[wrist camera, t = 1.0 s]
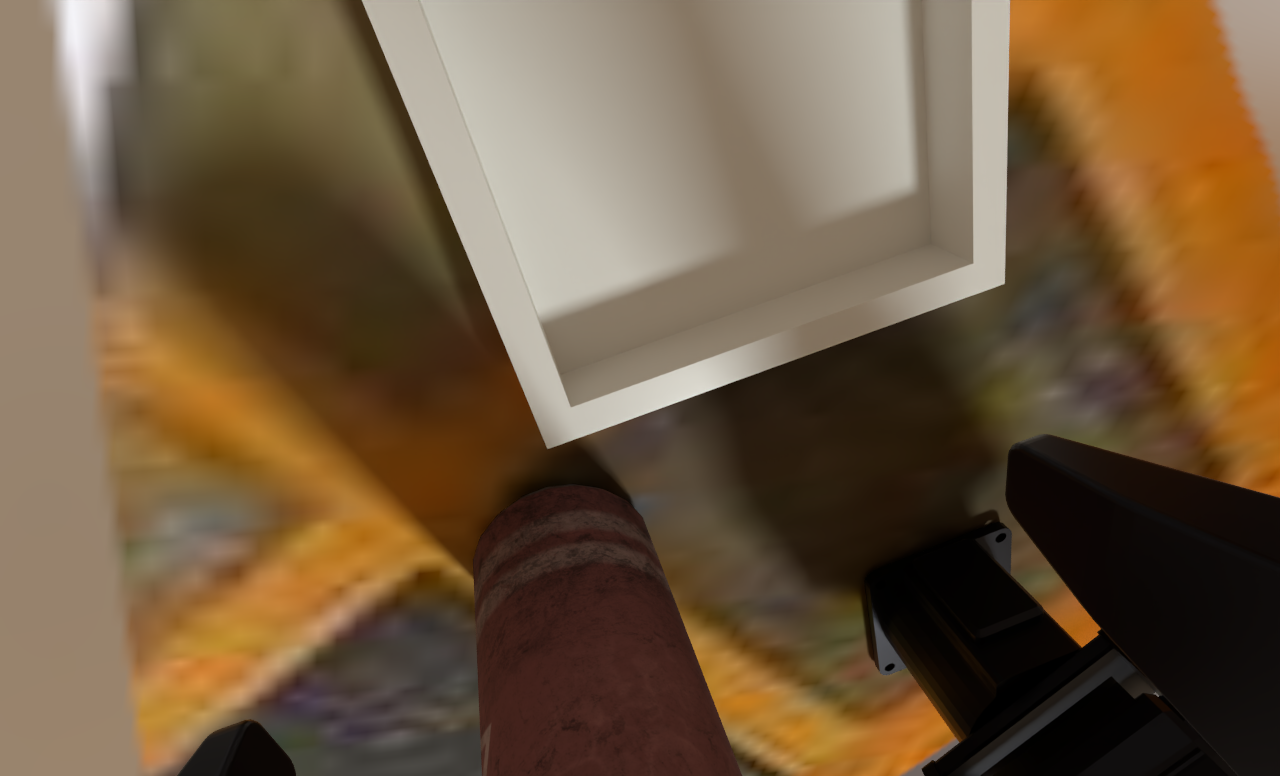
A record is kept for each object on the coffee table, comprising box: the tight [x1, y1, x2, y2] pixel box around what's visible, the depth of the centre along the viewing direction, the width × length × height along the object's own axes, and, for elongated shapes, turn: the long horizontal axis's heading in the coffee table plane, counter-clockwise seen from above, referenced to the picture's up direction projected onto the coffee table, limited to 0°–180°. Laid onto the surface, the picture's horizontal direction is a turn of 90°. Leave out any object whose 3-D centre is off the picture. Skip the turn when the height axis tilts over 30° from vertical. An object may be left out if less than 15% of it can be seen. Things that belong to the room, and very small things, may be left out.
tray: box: [362, 0, 1010, 449], centre depth 17 cm, size 14×14×3 cm
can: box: [473, 484, 742, 776], centre depth 18 cm, size 6×6×14 cm
